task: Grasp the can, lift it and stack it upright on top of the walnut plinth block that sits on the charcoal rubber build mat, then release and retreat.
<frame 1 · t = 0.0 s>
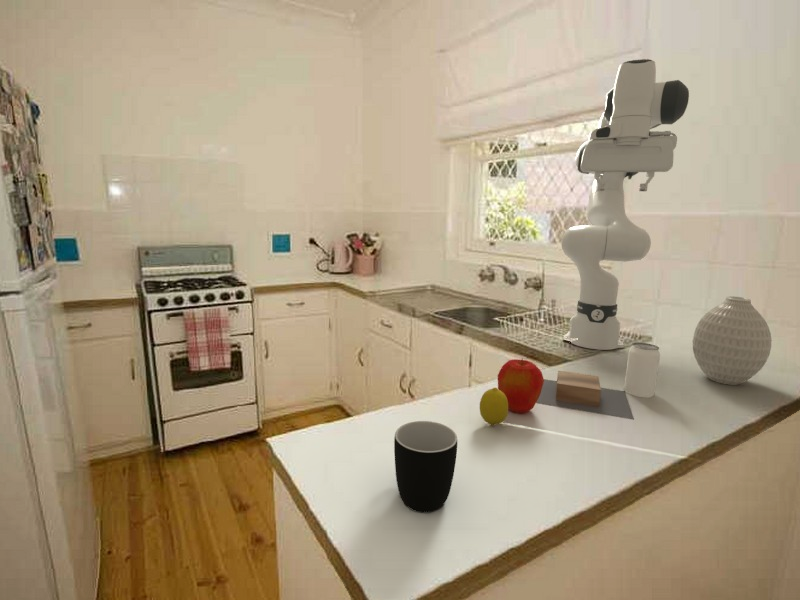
hand: (621, 191, 108), 48 cm above the counter, fingers open, 8 cm apart
plinth: (576, 395, 101), resting on build mat
can: (638, 394, 105), on the counter
vase: (723, 380, 115), on the counter
build mat: (576, 397, 101), on the counter
lemon: (492, 426, 87), on the counter
apple: (517, 411, 94), on the counter
mug: (418, 493, 65), on the counter
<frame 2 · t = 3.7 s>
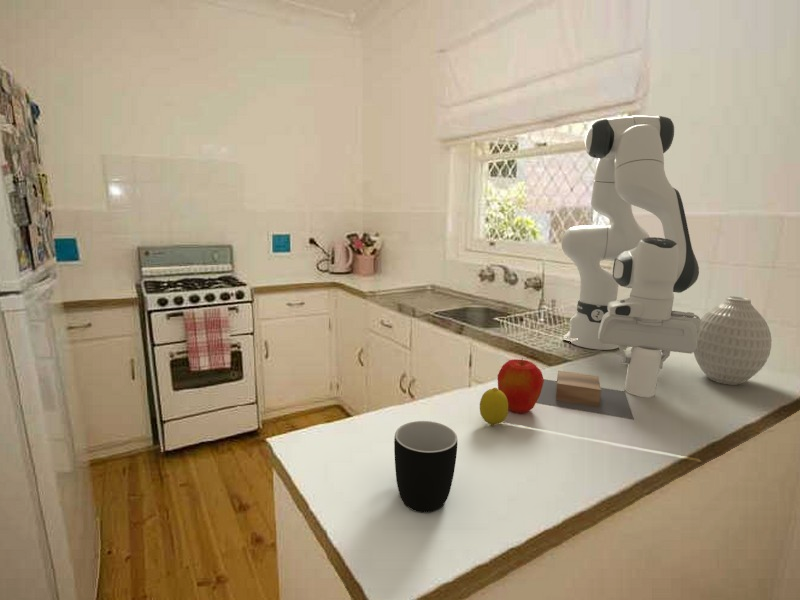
hand: (641, 365, 104), 7 cm above the counter, fingers closed on can, 5 cm apart
can: (638, 393, 105), on the counter, touching gripper
everything else where it was.
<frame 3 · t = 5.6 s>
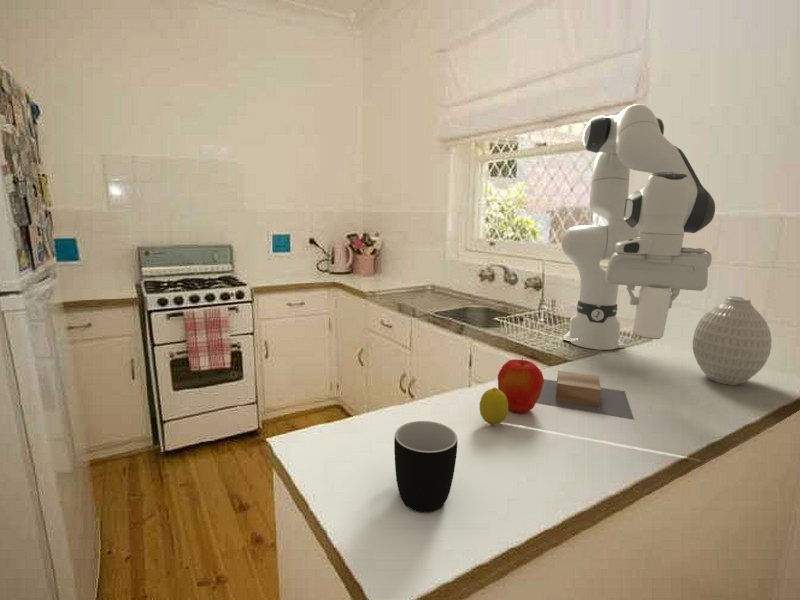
hand: (649, 306, 101), 22 cm above the counter, fingers closed on can, 5 cm apart
can: (646, 336, 102), point 14 cm above the counter, touching gripper
everything else where it was.
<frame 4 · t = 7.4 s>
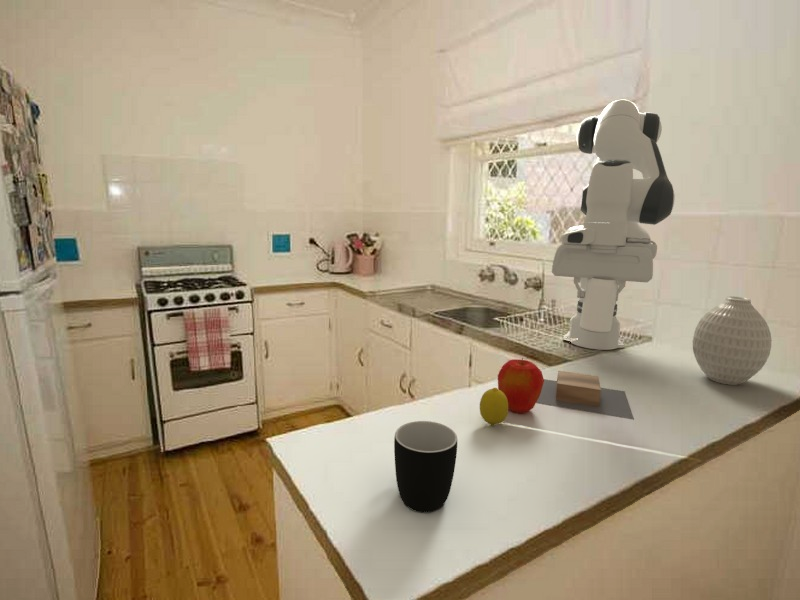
hand: (596, 299, 97), 23 cm above the counter, fingers closed on can, 5 cm apart
can: (594, 330, 98), point 16 cm above the counter, touching gripper
everything else where it was.
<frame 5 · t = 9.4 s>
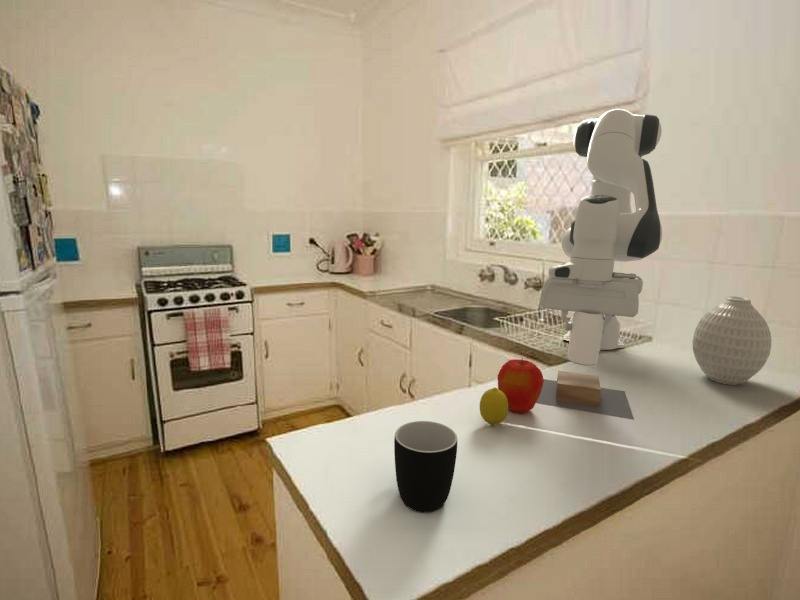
hand: (583, 331, 98), 16 cm above the counter, fingers closed on can, 5 cm apart
can: (581, 362, 100), point 9 cm above the counter, touching gripper
everything else where it was.
when the fingers open (12 cm above the counter, at t = 11.2 s): can drops 1 cm, resting on plinth.
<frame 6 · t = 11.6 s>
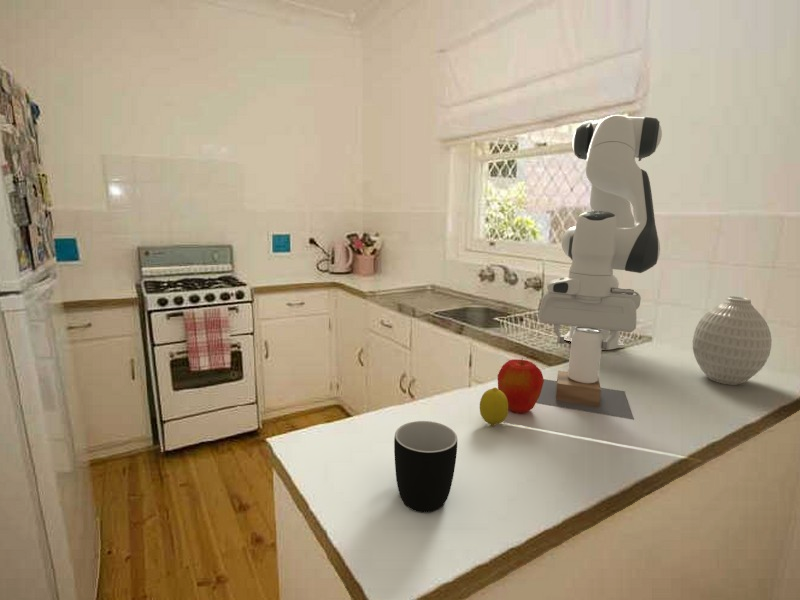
hand: (582, 345, 99), 13 cm above the counter, fingers open, 8 cm apart
plinth: (576, 395, 101), resting on build mat, touching can
can: (582, 379, 101), point 4 cm above the counter, touching plinth
everything else where it was.
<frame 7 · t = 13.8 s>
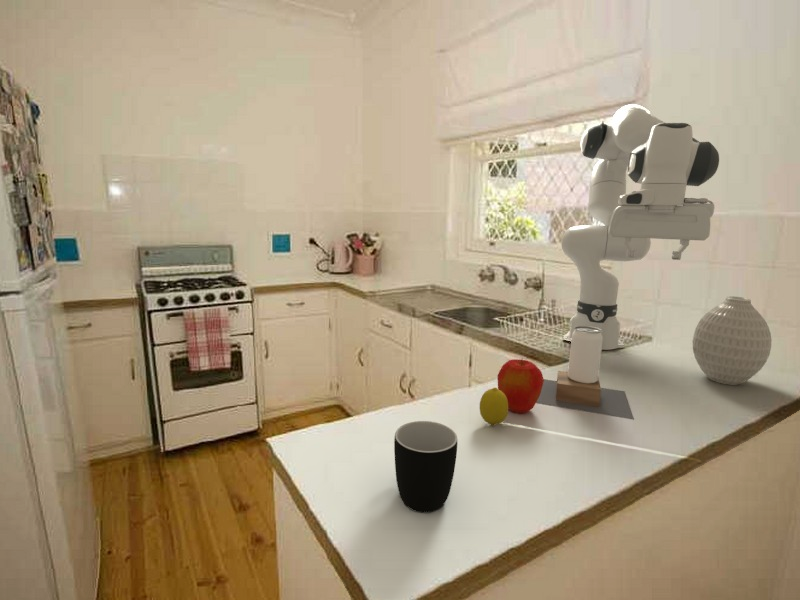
hand: (652, 258, 102), 32 cm above the counter, fingers open, 8 cm apart
nothing on the counter moved.
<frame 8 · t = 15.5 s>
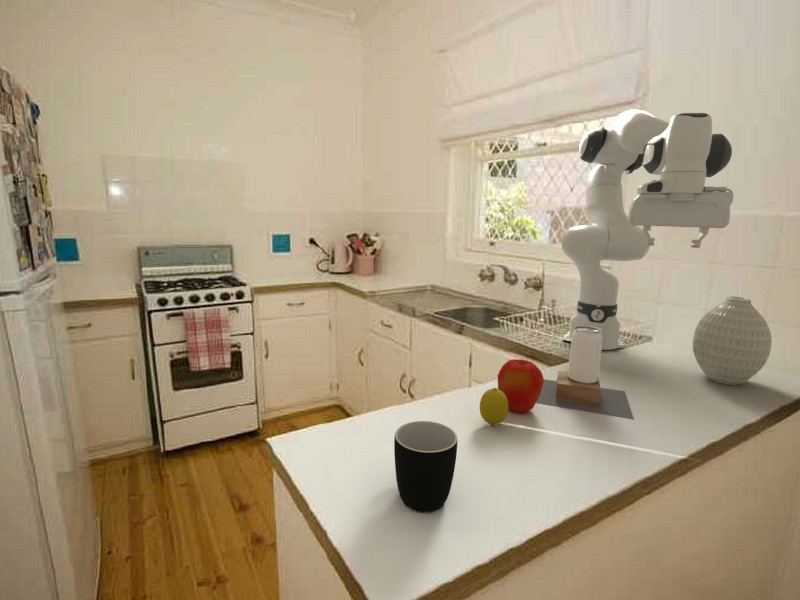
hand: (672, 246, 103), 35 cm above the counter, fingers open, 8 cm apart
nothing on the counter moved.
at the end: can inside the target area on the plinth (1.1 cm from its centre), point 3.8 cm above the plinth's base; can tilted 0°; the gripper is holding nothing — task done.
